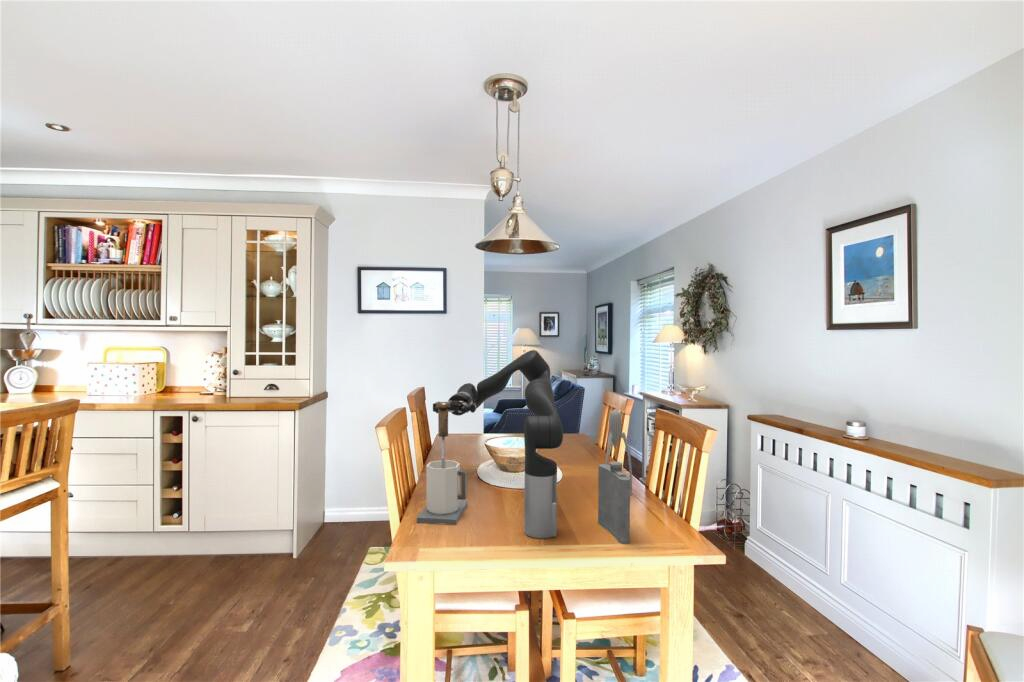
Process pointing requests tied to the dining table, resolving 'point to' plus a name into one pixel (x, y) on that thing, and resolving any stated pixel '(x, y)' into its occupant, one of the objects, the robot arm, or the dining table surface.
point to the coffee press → (444, 493)
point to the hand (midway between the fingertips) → (449, 410)
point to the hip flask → (614, 501)
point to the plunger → (443, 425)
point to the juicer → (614, 437)
